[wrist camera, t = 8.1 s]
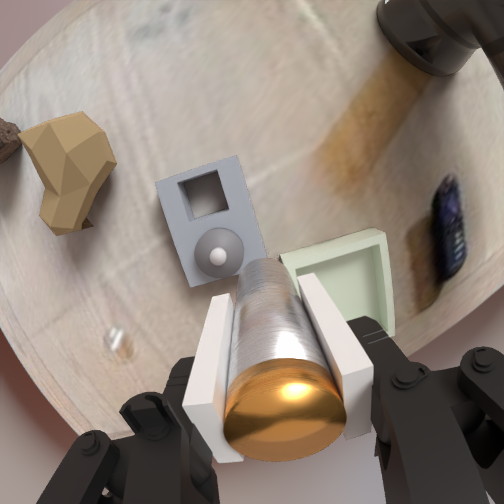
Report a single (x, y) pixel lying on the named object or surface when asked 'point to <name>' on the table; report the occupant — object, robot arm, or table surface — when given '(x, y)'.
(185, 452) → the robot arm
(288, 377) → the lock pin
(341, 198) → the table surface
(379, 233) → the tray
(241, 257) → the block
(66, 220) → the low-poly potato
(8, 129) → the rock
